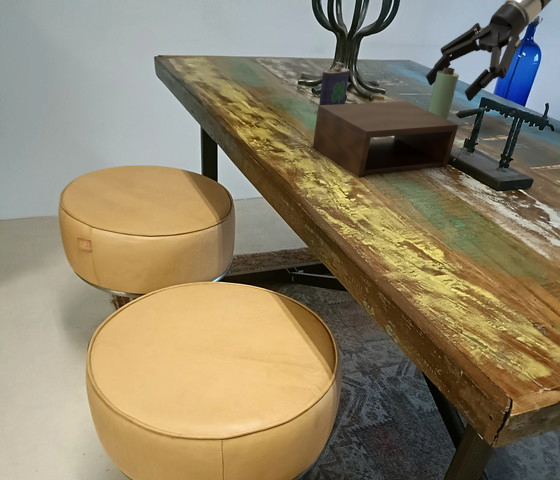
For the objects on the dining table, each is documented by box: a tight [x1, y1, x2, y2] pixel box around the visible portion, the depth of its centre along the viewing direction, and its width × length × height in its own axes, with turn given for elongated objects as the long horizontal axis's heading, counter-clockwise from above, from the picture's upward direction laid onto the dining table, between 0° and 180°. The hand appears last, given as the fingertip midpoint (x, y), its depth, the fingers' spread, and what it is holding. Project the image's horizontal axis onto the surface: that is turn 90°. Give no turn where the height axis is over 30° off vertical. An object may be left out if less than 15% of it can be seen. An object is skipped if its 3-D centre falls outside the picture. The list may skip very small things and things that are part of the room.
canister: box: [427, 67, 460, 120], centre depth 134 cm, size 5×5×12 cm
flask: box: [318, 61, 351, 105], centre depth 133 cm, size 9×3×11 cm, turn 140°
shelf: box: [312, 100, 459, 178], centre depth 111 cm, size 16×22×8 cm
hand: (447, 88), depth 133 cm, fingers open, 13 cm apart
